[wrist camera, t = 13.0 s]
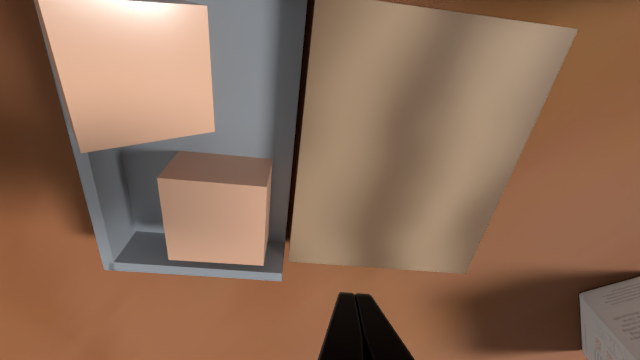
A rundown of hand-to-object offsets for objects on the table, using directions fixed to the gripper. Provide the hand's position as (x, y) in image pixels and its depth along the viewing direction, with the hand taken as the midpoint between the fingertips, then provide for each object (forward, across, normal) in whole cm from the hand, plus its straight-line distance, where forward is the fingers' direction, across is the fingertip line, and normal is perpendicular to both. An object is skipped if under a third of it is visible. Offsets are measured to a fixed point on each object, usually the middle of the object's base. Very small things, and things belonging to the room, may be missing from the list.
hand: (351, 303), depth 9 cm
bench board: (+11, -4, 0) cm, 11 cm away
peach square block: (+10, +6, +4) cm, 12 cm away
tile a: (+6, +8, -4) cm, 11 cm away
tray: (+11, +7, 0) cm, 13 cm away
